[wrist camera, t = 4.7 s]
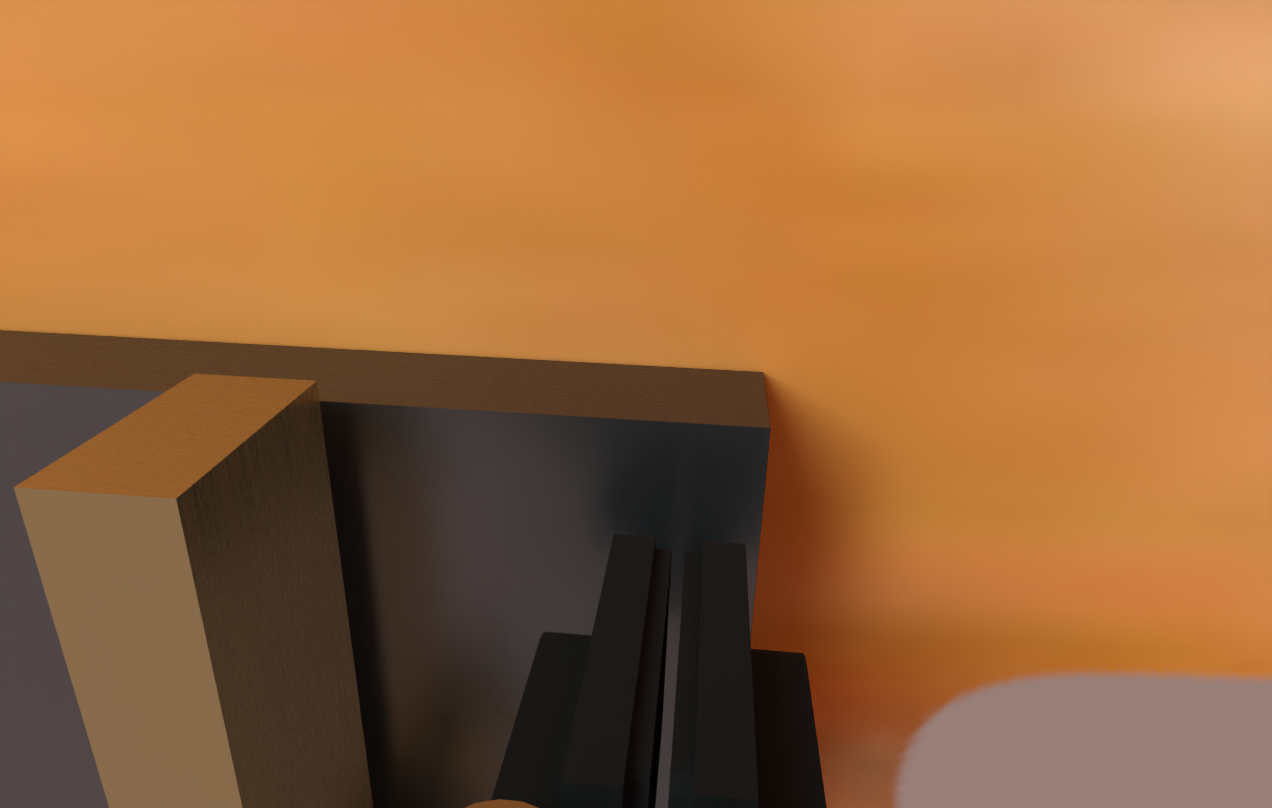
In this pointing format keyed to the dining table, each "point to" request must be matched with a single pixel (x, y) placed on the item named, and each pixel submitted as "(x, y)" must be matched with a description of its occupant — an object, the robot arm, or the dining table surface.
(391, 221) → the dining table surface
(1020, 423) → the dining table surface
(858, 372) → the dining table surface
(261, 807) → the lever handle
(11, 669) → the plate
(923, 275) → the dining table surface
